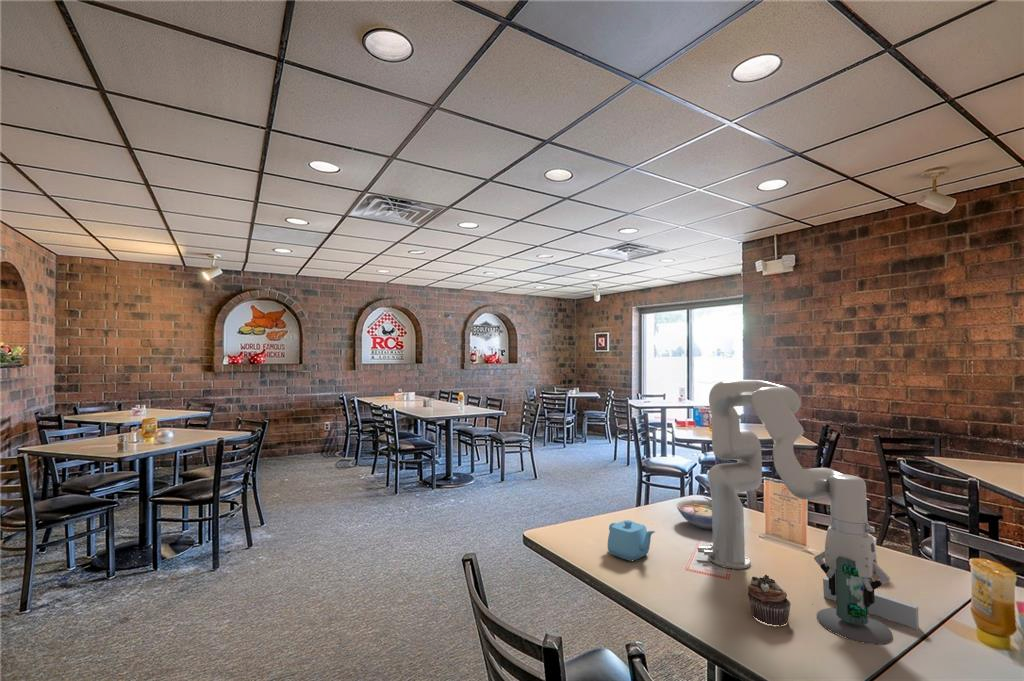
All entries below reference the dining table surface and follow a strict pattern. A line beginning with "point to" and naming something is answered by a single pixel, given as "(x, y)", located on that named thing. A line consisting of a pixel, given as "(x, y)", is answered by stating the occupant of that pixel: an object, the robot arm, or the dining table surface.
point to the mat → (855, 628)
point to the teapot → (628, 540)
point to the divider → (886, 608)
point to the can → (850, 593)
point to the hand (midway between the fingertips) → (851, 598)
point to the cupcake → (768, 601)
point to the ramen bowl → (697, 512)
